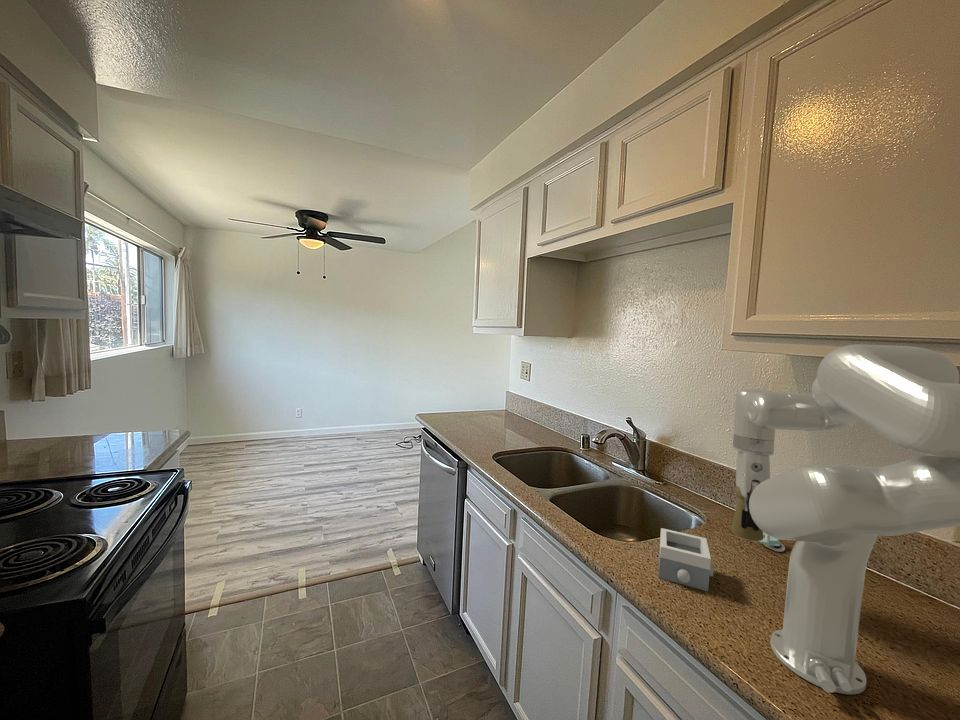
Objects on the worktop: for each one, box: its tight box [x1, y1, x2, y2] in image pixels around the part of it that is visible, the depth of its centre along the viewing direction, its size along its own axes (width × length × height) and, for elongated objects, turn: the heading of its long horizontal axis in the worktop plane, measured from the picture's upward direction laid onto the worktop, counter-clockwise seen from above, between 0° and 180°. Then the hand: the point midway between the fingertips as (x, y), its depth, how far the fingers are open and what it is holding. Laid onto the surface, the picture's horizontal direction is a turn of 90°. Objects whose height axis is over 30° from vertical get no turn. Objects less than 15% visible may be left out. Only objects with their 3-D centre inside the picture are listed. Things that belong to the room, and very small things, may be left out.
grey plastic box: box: [658, 527, 714, 592], centre depth 91 cm, size 11×11×8 cm
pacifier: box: [758, 532, 786, 553], centre depth 106 cm, size 7×6×6 cm
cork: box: [730, 486, 764, 542], centre depth 87 cm, size 6×6×11 cm
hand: (747, 524), depth 87 cm, fingers closed on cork, 3 cm apart
